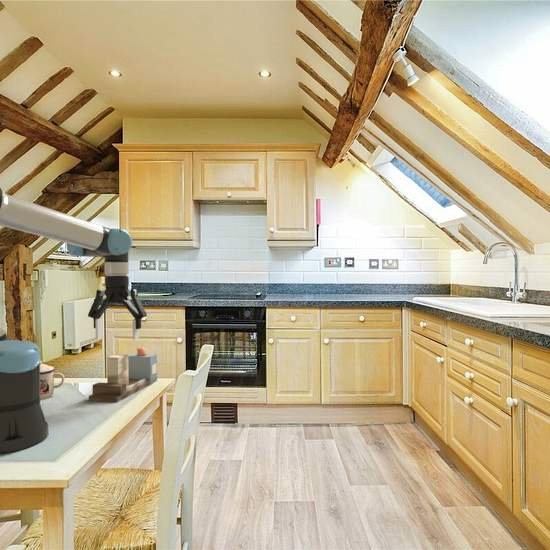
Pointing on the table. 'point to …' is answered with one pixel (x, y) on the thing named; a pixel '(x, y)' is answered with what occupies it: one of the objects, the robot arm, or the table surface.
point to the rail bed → (117, 390)
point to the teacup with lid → (48, 381)
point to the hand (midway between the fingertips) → (117, 338)
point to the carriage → (118, 369)
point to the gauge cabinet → (142, 367)
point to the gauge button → (140, 351)
